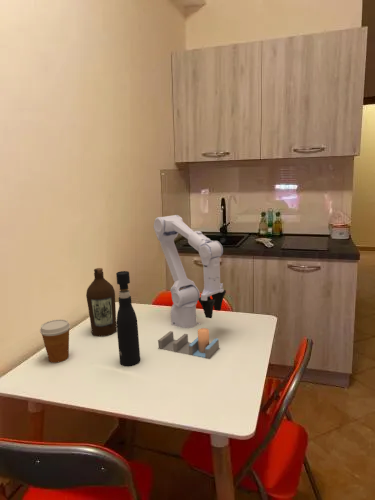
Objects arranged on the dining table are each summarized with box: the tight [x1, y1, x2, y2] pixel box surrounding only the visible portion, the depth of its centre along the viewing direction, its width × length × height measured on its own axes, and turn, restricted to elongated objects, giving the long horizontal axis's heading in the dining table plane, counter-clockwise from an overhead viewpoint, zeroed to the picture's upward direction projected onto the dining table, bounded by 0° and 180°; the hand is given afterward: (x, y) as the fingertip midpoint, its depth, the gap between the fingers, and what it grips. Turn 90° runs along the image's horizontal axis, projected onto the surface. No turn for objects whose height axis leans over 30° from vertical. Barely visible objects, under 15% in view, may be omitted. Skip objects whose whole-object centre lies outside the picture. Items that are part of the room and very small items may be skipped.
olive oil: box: [85, 267, 117, 337], centre depth 143 cm, size 11×11×25 cm
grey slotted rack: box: [157, 330, 220, 360], centre depth 125 cm, size 19×8×4 cm, turn 62°
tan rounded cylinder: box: [197, 327, 210, 353], centre depth 122 cm, size 4×4×7 cm
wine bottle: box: [115, 270, 141, 367], centre depth 116 cm, size 6×6×30 cm
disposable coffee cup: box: [39, 319, 71, 364], centre depth 124 cm, size 10×10×12 cm
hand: (213, 313), depth 132 cm, fingers open, 7 cm apart
